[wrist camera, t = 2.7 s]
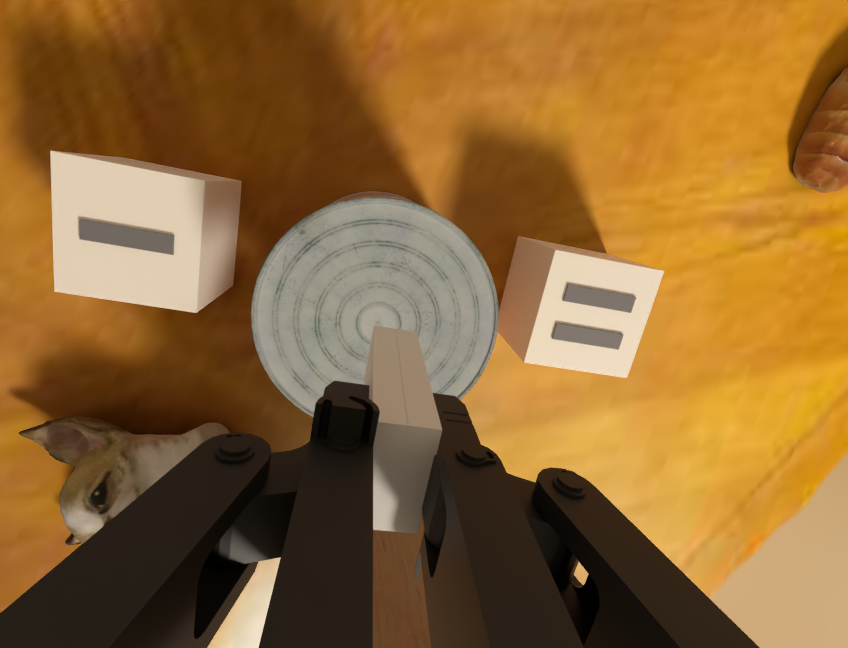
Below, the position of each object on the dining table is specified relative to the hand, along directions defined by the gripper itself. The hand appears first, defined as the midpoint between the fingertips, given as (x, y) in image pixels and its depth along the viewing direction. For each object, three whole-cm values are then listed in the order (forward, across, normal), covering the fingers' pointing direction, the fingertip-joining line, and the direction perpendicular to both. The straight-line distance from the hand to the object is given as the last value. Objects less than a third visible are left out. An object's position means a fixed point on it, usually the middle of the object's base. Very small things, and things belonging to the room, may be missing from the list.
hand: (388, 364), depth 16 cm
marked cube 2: (+17, -13, +1) cm, 22 cm away
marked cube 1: (+17, +13, +1) cm, 21 cm away
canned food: (+17, 0, 0) cm, 17 cm away
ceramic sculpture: (+17, -14, -17) cm, 28 cm away
